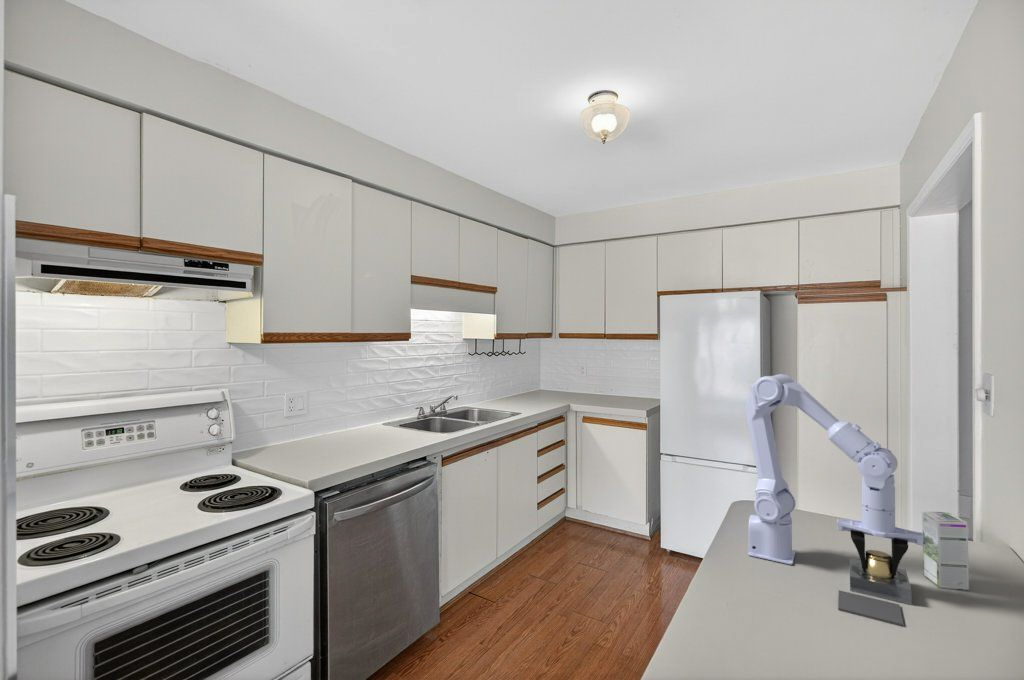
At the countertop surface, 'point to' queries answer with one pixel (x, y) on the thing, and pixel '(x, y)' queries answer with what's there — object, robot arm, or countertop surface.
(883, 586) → the housing
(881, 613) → the rubber mat
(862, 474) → the robot arm
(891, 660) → the countertop surface
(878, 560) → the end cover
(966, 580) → the syrup box
